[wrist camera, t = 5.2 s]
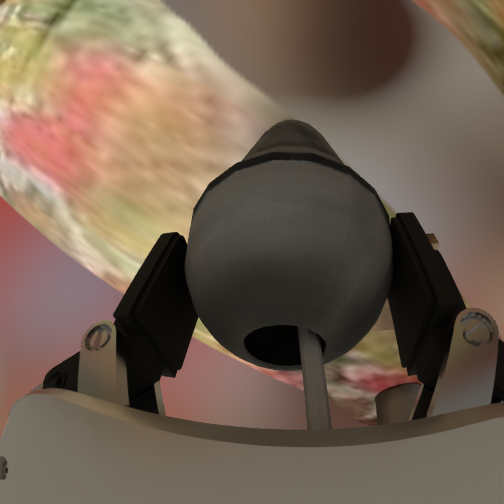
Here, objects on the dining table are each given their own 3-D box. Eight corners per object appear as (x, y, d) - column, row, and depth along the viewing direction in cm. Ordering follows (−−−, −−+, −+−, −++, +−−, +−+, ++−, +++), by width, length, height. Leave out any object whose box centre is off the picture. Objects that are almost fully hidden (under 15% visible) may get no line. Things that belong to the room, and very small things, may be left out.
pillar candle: (365, 402, 46) (368, 472, 34) (394, 381, 40) (403, 462, 28) (402, 402, 47) (408, 466, 35) (432, 382, 40) (443, 453, 29)
